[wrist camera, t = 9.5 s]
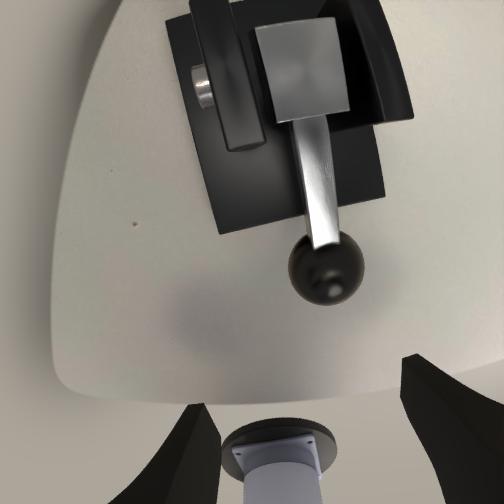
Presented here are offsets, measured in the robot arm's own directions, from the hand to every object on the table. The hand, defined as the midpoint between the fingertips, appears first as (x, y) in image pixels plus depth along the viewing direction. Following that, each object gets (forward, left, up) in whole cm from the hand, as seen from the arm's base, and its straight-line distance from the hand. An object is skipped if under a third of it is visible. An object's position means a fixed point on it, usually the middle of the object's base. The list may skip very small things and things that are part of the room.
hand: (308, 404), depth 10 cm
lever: (+8, -2, -4) cm, 9 cm away
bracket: (+11, -2, -9) cm, 14 cm away
